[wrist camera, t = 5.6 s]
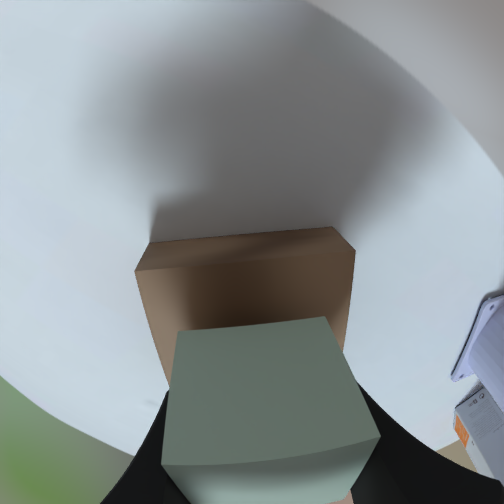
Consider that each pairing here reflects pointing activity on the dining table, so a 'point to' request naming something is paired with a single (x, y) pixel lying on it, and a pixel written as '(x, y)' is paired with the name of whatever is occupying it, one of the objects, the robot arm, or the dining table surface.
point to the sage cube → (265, 416)
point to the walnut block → (244, 283)
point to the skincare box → (482, 433)
